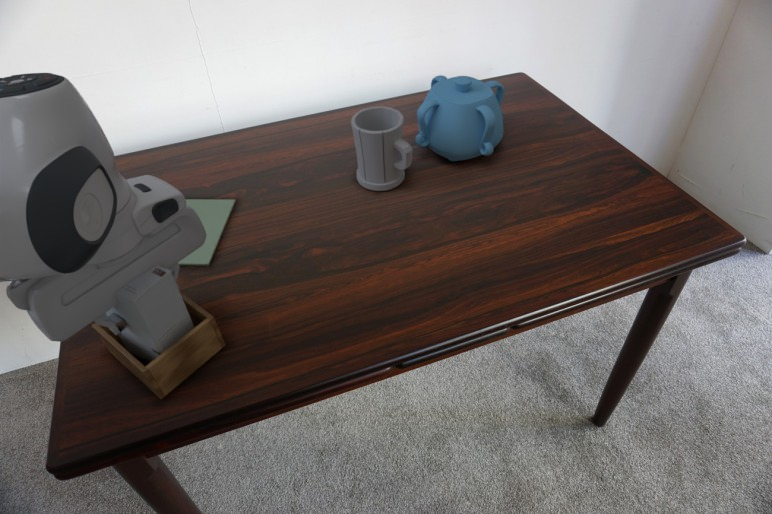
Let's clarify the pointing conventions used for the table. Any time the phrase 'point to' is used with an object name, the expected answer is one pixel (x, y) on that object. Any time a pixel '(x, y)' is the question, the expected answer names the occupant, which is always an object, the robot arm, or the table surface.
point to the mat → (209, 227)
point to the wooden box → (171, 352)
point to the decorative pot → (461, 117)
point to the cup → (380, 148)
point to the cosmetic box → (152, 314)
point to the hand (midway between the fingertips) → (146, 309)
